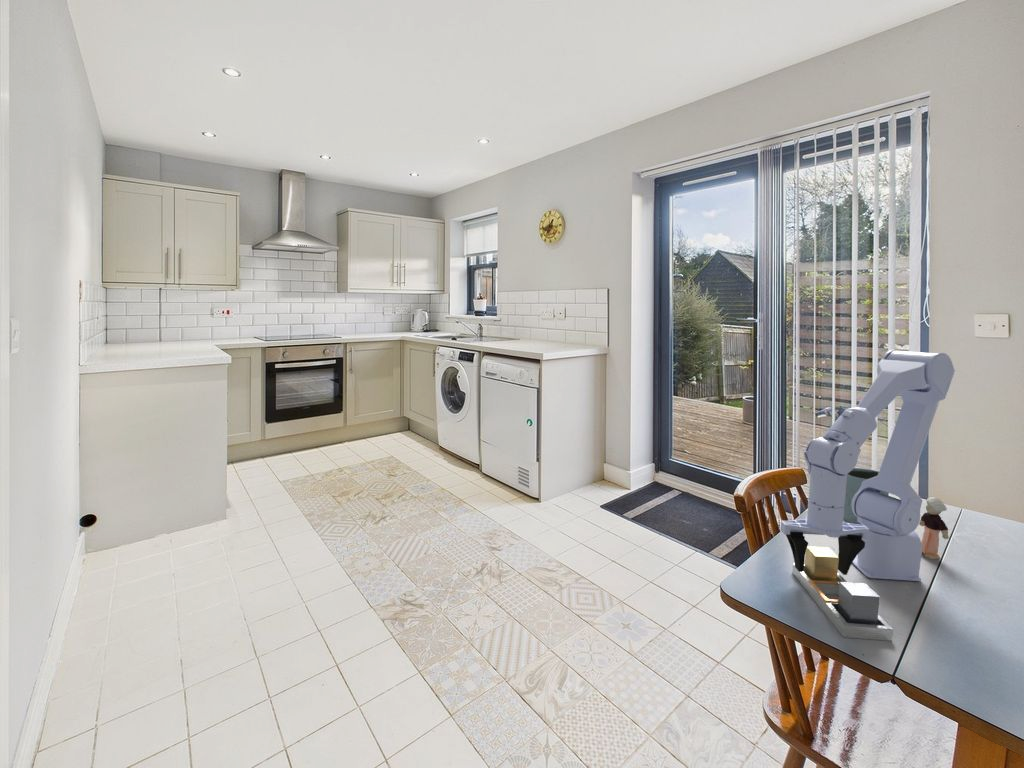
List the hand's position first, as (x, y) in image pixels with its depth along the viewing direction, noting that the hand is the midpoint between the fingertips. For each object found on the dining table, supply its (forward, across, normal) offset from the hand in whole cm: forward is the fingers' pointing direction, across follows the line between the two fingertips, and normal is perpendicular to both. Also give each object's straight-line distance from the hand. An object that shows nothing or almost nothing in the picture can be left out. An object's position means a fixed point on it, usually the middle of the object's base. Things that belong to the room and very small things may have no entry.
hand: (820, 570), depth 94 cm
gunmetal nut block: (+3, 0, -13) cm, 13 cm away
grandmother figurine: (+3, +28, +15) cm, 32 cm away
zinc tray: (+3, 0, -6) cm, 7 cm away
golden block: (+3, 0, 0) cm, 3 cm away
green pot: (+3, +24, +33) cm, 41 cm away
